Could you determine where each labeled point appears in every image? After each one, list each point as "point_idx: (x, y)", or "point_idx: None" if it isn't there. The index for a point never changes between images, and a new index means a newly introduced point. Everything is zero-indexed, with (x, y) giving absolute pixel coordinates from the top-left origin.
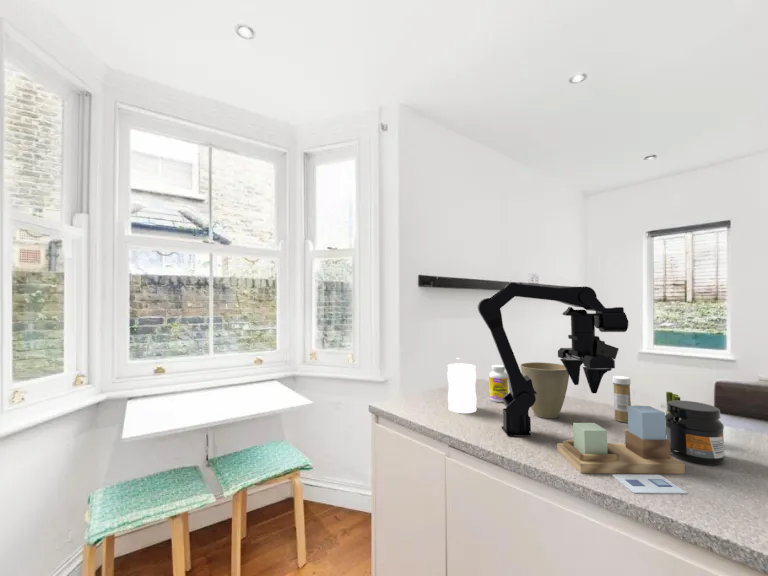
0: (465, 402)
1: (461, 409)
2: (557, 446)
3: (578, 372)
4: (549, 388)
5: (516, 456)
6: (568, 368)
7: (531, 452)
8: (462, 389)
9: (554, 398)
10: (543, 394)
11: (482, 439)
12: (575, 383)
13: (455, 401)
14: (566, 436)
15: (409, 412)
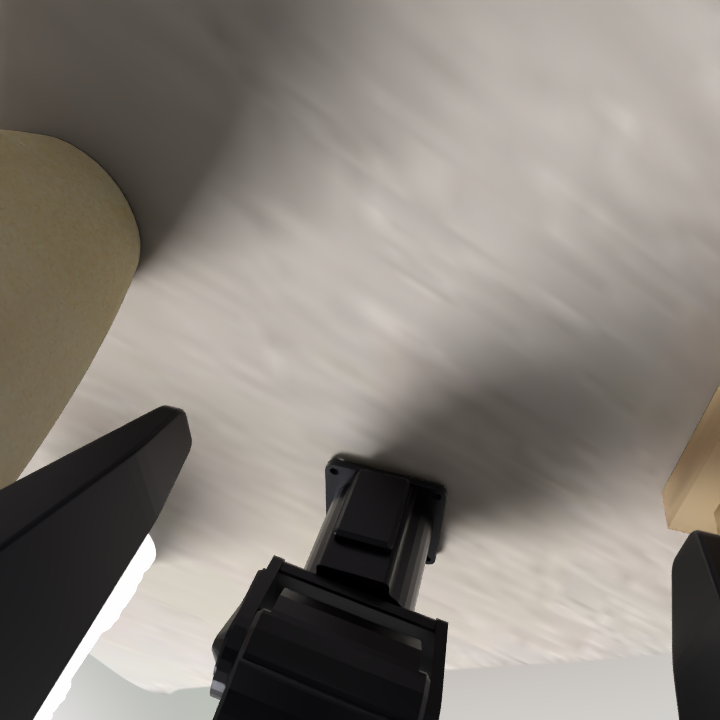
0: (126, 587)
1: (145, 566)
2: (667, 514)
3: (34, 552)
4: (33, 409)
5: (649, 633)
6: (31, 715)
7: (630, 577)
8: (84, 650)
9: (72, 306)
10: (68, 397)
11: (451, 629)
12: (180, 451)
13: (123, 607)
14: (464, 326)
15: (185, 658)
